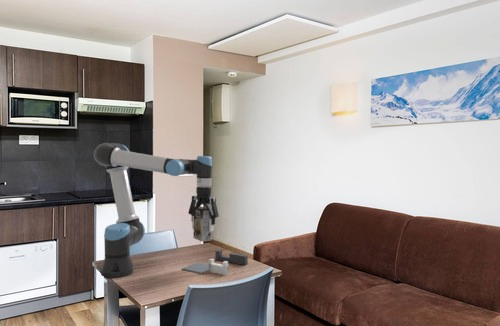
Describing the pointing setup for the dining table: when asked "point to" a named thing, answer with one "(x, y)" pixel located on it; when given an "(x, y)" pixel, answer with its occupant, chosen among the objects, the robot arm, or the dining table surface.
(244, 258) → the tie bar
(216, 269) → the clip jaw
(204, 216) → the coffee box
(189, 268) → the mat
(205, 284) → the dining table surface
